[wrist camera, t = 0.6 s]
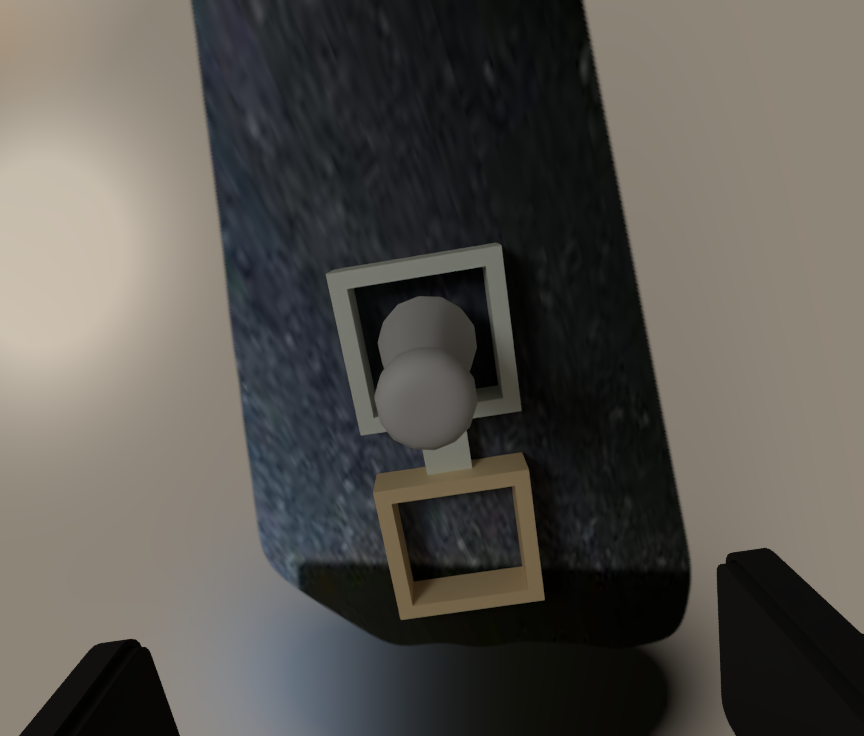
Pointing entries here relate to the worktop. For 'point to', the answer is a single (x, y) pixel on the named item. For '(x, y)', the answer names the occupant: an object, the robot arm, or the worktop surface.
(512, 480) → the sockets
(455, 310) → the salt shaker
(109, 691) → the robot arm
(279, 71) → the worktop surface
